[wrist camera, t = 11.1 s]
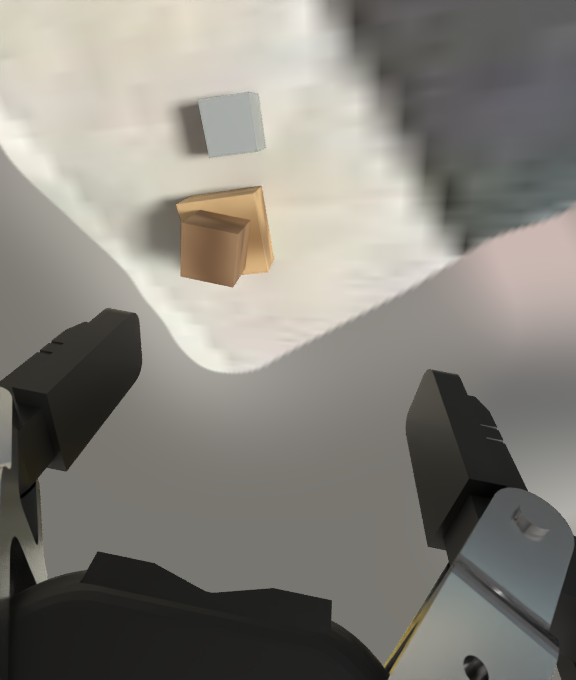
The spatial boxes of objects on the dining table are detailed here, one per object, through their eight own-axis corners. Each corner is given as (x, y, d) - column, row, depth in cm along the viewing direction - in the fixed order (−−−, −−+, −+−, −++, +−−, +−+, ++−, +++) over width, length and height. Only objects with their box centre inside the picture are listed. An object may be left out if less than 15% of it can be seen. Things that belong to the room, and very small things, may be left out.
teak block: (191, 195, 37) (175, 204, 33) (262, 185, 35) (253, 193, 32) (210, 264, 40) (197, 279, 37) (274, 258, 39) (267, 272, 35)
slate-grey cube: (212, 100, 32) (197, 99, 29) (258, 93, 31) (248, 91, 28) (222, 153, 34) (209, 157, 31) (266, 147, 33) (257, 151, 30)
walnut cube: (198, 258, 36) (180, 276, 32) (200, 209, 33) (181, 222, 29) (245, 268, 35) (233, 287, 32) (250, 220, 33) (238, 234, 29)
